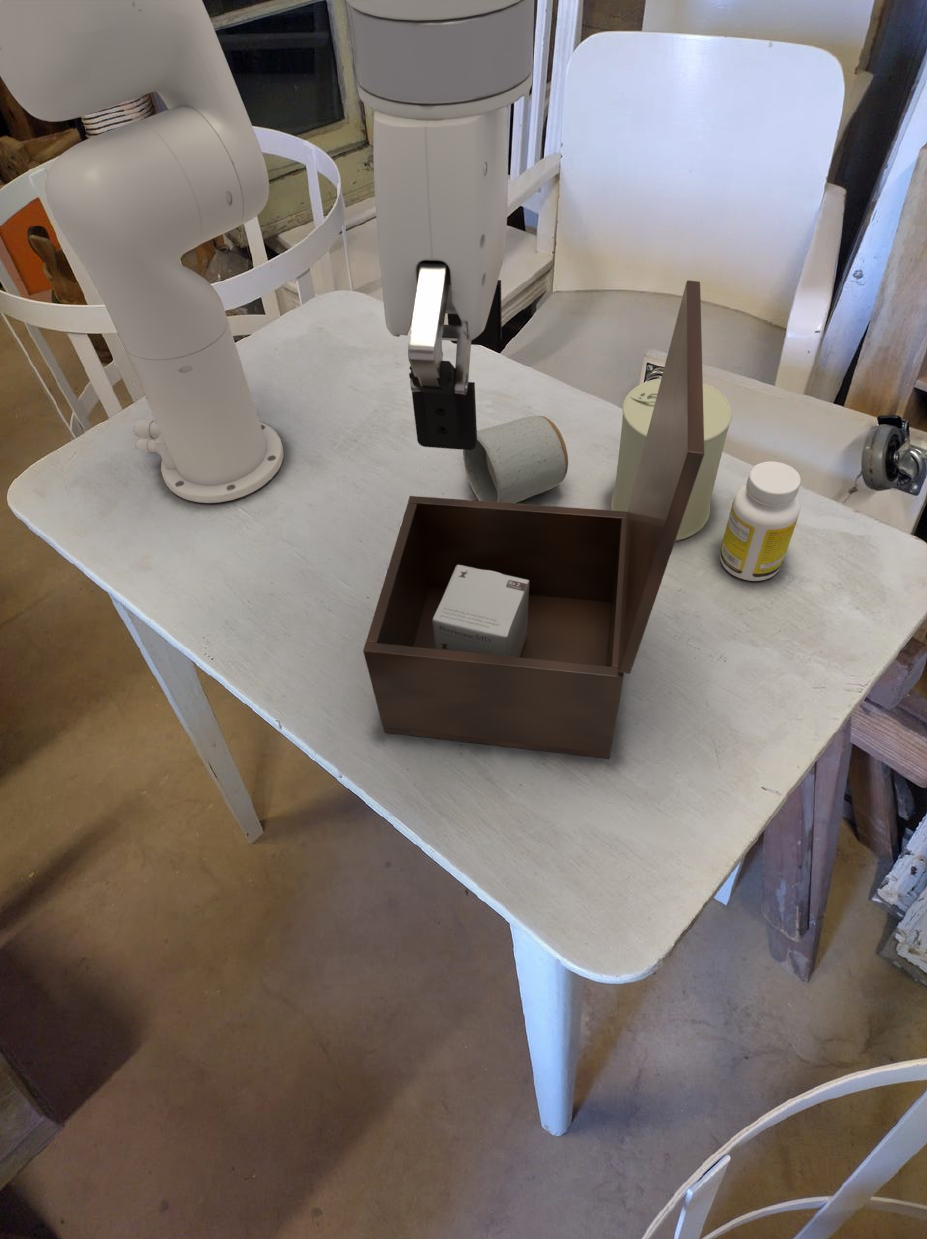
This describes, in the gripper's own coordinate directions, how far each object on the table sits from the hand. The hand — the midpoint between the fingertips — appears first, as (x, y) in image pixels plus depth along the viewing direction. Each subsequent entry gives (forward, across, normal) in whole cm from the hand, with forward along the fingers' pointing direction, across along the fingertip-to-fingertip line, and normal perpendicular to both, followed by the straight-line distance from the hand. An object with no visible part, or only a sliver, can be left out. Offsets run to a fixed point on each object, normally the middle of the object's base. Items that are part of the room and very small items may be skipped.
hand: (462, 390), depth 47 cm
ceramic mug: (+27, -22, 0) cm, 35 cm away
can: (+27, -20, +15) cm, 36 cm away
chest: (+26, 0, +3) cm, 27 cm away
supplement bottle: (+27, -14, +23) cm, 37 cm away
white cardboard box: (+26, 0, +1) cm, 26 cm away
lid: (+6, 0, +12) cm, 13 cm away
